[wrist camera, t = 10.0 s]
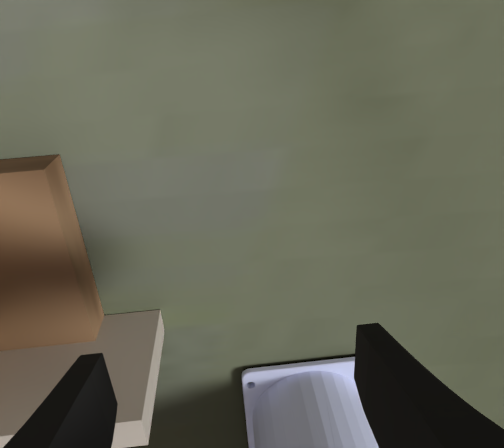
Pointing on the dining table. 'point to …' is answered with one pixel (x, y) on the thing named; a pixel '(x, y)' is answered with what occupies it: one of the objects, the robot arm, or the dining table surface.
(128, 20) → the dining table surface
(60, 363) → the shelf board
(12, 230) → the brown rectangular panel
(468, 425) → the robot arm
